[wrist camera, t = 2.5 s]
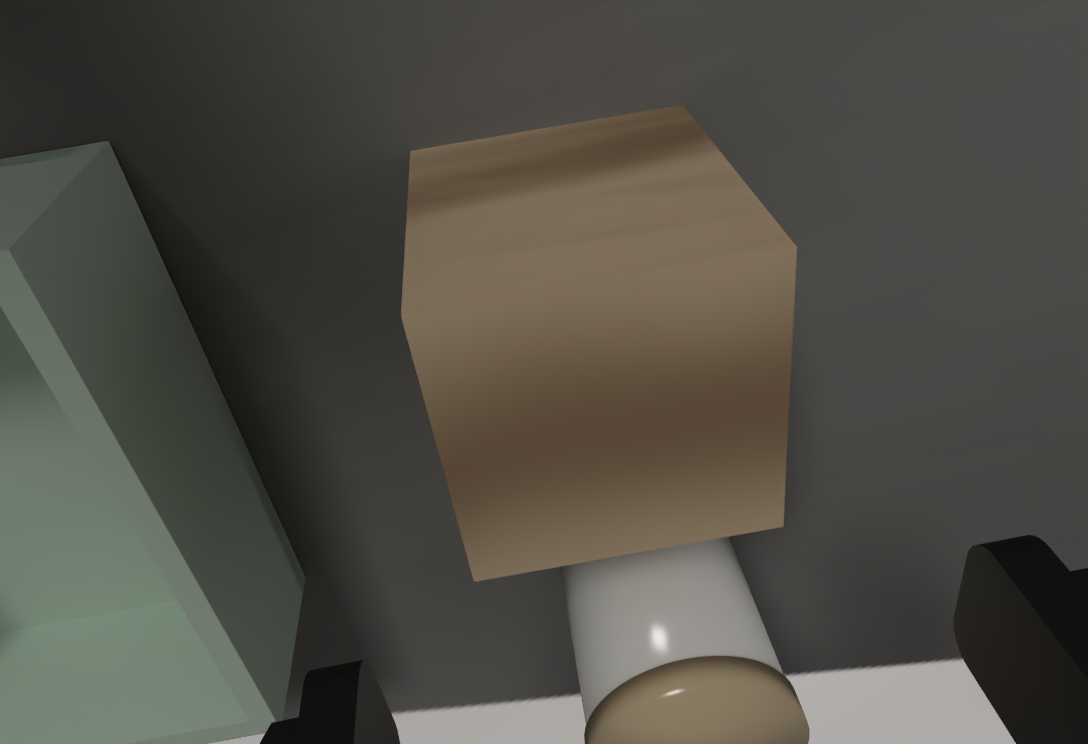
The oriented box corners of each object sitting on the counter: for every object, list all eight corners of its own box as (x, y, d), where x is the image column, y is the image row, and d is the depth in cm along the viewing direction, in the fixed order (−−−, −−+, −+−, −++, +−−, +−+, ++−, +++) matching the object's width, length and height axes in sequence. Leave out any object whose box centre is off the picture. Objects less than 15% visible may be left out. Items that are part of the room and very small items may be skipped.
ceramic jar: (538, 464, 24) (578, 712, 17) (712, 433, 24) (815, 670, 17) (559, 580, 26) (600, 830, 20) (714, 553, 26) (803, 793, 20)
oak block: (410, 150, 18) (401, 316, 12) (681, 103, 18) (796, 247, 12) (462, 372, 22) (474, 581, 16) (690, 333, 22) (783, 526, 16)
